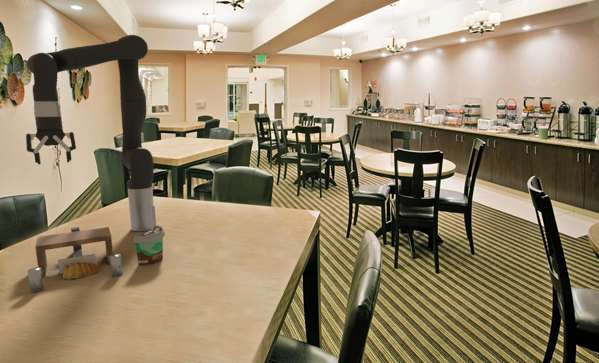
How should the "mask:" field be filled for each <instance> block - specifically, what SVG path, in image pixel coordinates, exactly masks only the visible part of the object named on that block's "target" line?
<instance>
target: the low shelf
mask: <svg viewBox="0 0 599 363" xmlns="http://www.w3.org/2000/svg"><path fill="white" fill-rule="evenodd" d="M110 230H111V229H110V228H109V226H108V227H100V228H98V227H97V228H92V229H85V230H80V231H76V232H71V231H70V232H64V233H63V232H62V233H57V234H56V233H53V234H48V235H41V236H37V238H36V243H35V246H34V248H35V254H36V261H37V267H40V268H41V272H42V278H43V277H46V274H47V269H48V261H47V260H48V259H47V253H46V251H47V250H55V249H60V248H61V249H62V248H68V247H73V246H75V245H81V246H83V245H87V244H93V243H102V242H104V245H105V254H106V259H107V263H108V265H110V255H113V254H114V250H113V241H112V239H113V238H112V234H111V231H110Z"/></svg>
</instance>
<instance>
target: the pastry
mask: <svg viewBox="0 0 599 363" xmlns="http://www.w3.org/2000/svg"><path fill="white" fill-rule="evenodd" d="M98 271H99V267H98V264H97V263H96V264H93V263H79V262H77V263H70V264H69V265H63V273H62V279H64V280H73V279H80V278H84V277H88V276H91V275H94V274H95V273H97V272H98Z"/></svg>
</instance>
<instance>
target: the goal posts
mask: <svg viewBox="0 0 599 363" xmlns="http://www.w3.org/2000/svg"><path fill="white" fill-rule="evenodd" d="M122 265H123V264H122V255H121V254H120V253H113V255H110V275H111V277H114V278H116V277H120V276H123V267H122ZM27 276H28V283H29V289H30V293H40V292H42V291H44V289H45V288H44V280H43V277H42V272H41V268H40V267H38V266H37V267H31V268H29V269H27Z"/></svg>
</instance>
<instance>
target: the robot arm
mask: <svg viewBox="0 0 599 363" xmlns="http://www.w3.org/2000/svg"><path fill="white" fill-rule="evenodd" d="M148 47H149V46H148V44H147V42H146V39H144V37H142V36H140V35H137V34H128V35H124V36H122V37H119V38H118V39H117V40H114V41H110V42H105V43H99V44H91V45H82V46H75V47H69V48H63V49H60V50H58V51H52V52H37V53H34V54H32V55H31V56H30V57H29V58H28V59H27V62H26V66H27V68H28V70H29V72H30V73H32V74H33V81H34V83H33V85H32V97H33V98H32V99H33V111H34V112H33V113H34V115H33V116H34V120H35V126H36V133H29V132H28V133H26V134H25V140H26V142H25V143H26V151H27V152H28V153H33V155H34V156H33V157H34V162H35V164H38V165H41V164H42V162H41V156H40V152H39V151H41V149H42V147H44V146H46V147H49V146H59V145H60V146H61V147H62V148H63V149H65V155H66V162H67V163H70V162H71V161H72V153H71V152H72V151H74V150H77V146H76V139H75V134H74V131H70V132H64V128H63V121H62V120H63V119H62V111H61V110H62V109H61V106H60V102H59V92H58V87H57V86H58V73H61V72H64V71H67V72H68V71H75V70H80V69H81V70H82V69H85V68H90V67H94V66H98V65H100V64H104V63H108V62H114V61H117V65H118V66H117V67H118V71H119V92H120V93H119V96H120V97H119V98H120V112H121V114H120V115H121V128H122V142H121V143H122V144H121V146H122V148H121V160H122V163H123V165H124V166H125V167H126V168H127V169H129V170H130V178H129V179H128V180H127V182H126V183H127V184H126V185H127V197H128V208H129V219H130V229H131V231H132V232H146V231H150V230H152V229H153V228H154V225H156V226H157V218H156V206H155V204H154V195H153V194H154V193H153V192H154V191H153V181H154V174H155V173H154V172H155V171H154V159H153V155H152V152H151V151H150V150H149V149H147V148H145V147H143V144H142V132H143V128H144V124H145V122H146V119H147V97H146V93H145V89H144V87H143V85H142V81H141V79H140V74H139V61H140V60H143V59H144V58H145V56H147V54H148V51H149V48H148ZM65 136H66V137H67V139H70V144H71V146H68V144H66V142H64V140H63V139H64V138H65ZM35 138H36V139H37V140H38V141H39V143H38V144H37V146H36V147H35V148H33V147H32V145H33V144H32V141H33V140H34V139H35Z"/></svg>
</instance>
